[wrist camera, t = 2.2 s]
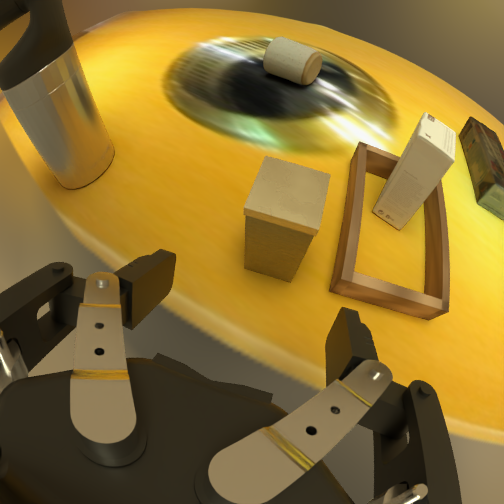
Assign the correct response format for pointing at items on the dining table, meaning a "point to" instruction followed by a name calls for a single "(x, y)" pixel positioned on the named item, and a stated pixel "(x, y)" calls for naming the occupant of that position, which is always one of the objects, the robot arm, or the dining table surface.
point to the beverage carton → (485, 165)
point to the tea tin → (282, 217)
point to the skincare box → (417, 171)
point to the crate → (436, 246)
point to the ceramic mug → (292, 61)
